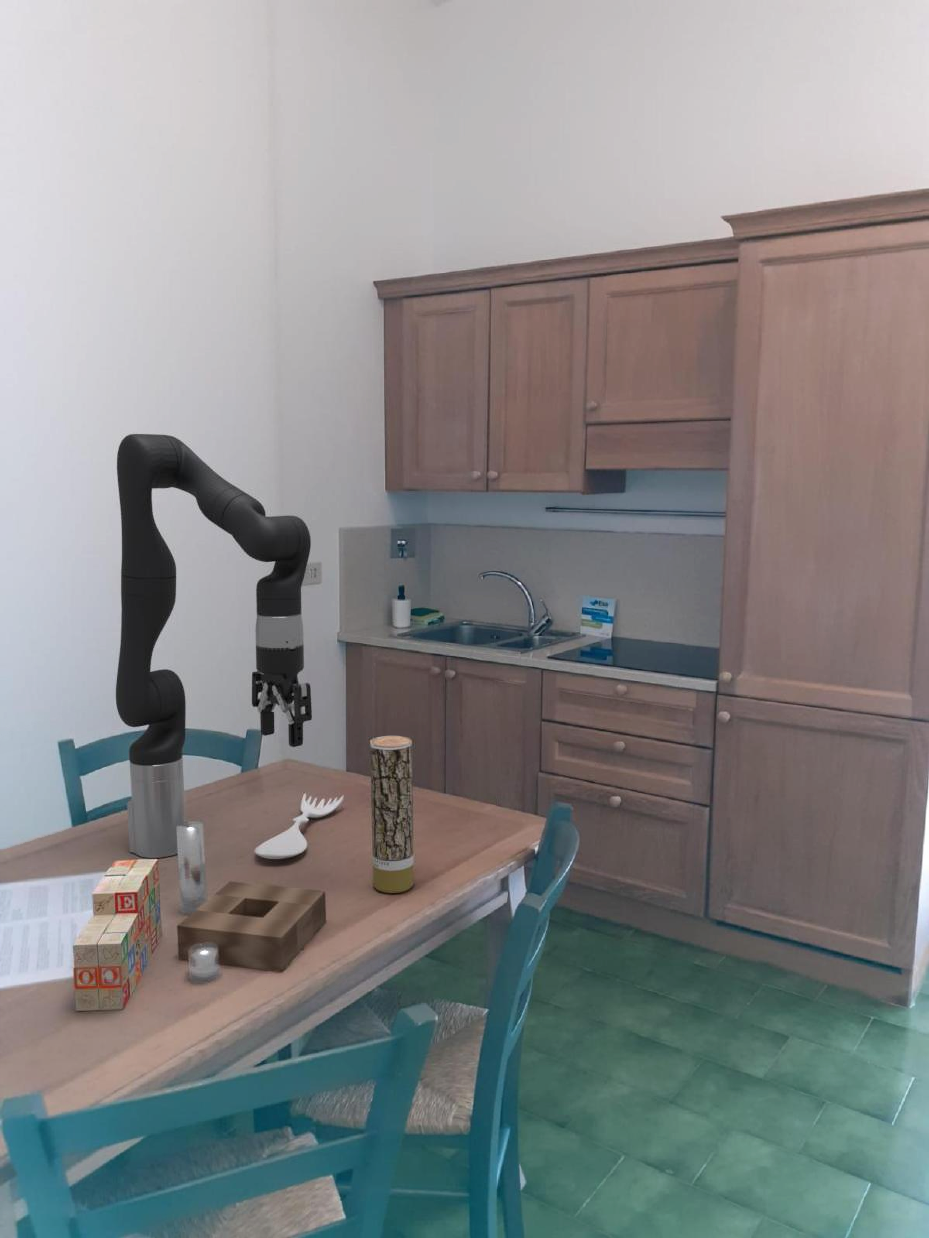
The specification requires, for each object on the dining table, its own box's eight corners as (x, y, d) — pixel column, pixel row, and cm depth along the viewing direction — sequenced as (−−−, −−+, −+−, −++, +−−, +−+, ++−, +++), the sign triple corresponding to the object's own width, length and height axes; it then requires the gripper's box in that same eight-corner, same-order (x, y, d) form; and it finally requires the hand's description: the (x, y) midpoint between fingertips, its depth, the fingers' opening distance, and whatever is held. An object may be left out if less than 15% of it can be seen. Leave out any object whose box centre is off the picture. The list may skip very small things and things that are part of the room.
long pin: (175, 914, 157) (171, 828, 155) (188, 903, 161) (184, 820, 159) (198, 916, 156) (194, 830, 154) (211, 906, 160) (207, 822, 158)
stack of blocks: (124, 1010, 129) (119, 920, 127) (75, 1013, 129) (68, 922, 127) (162, 935, 150) (158, 857, 148) (120, 936, 150) (115, 858, 148)
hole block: (178, 958, 143) (177, 925, 142) (231, 911, 158) (230, 881, 157) (282, 971, 139) (281, 937, 138) (326, 921, 154) (325, 890, 153)
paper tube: (398, 898, 162) (395, 748, 159) (364, 889, 166) (361, 743, 162) (421, 883, 168) (419, 739, 164) (389, 875, 172) (386, 733, 168)
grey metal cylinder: (184, 981, 136) (182, 953, 136) (198, 967, 140) (197, 940, 140) (210, 984, 135) (209, 956, 135) (224, 970, 139) (223, 943, 139)
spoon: (346, 809, 206) (345, 793, 206) (295, 869, 175) (295, 850, 175) (304, 807, 208) (303, 791, 207) (246, 866, 176) (245, 848, 176)
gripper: (236, 638, 162) (238, 735, 165) (283, 651, 152) (285, 754, 154) (276, 633, 167) (278, 727, 170) (324, 645, 157) (325, 745, 159)
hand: (281, 740), depth 162 cm, fingers open, 8 cm apart
